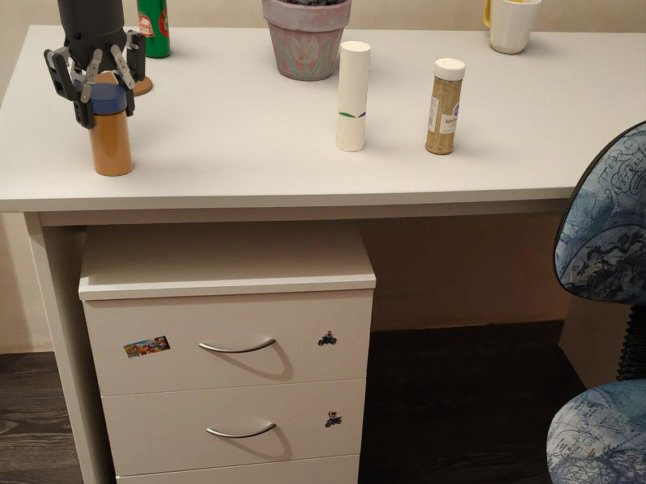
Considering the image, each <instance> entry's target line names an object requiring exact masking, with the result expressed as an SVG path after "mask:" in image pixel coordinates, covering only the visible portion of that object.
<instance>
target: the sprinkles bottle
mask: <svg viewBox="0 0 646 484" xmlns="http://www.w3.org/2000/svg"><path fill="white" fill-rule="evenodd" d="M466 69H467V68H466V63H465V62H463V61H461V60H459V59H456V58H452V57H451V58H450V57H442V58H439V59H436V61H435V63H434V69H433V75H434V76H433V77H434V78H433V86H432V94H431V99H430V107H429V114H428V120H427V121H428V122H427V135H426V141H425V144H424V146H425V149H426V150H427V151H429V152H430V153H433V154H436V155H447V154H450V153H452V152H453V151H454V140H455V133H456V129H457V123H458V116H459V110H460V99H461V93H462V87H463V86H462V85H463V81H464V78H465V76H466V75H465V74H466Z"/></svg>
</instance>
